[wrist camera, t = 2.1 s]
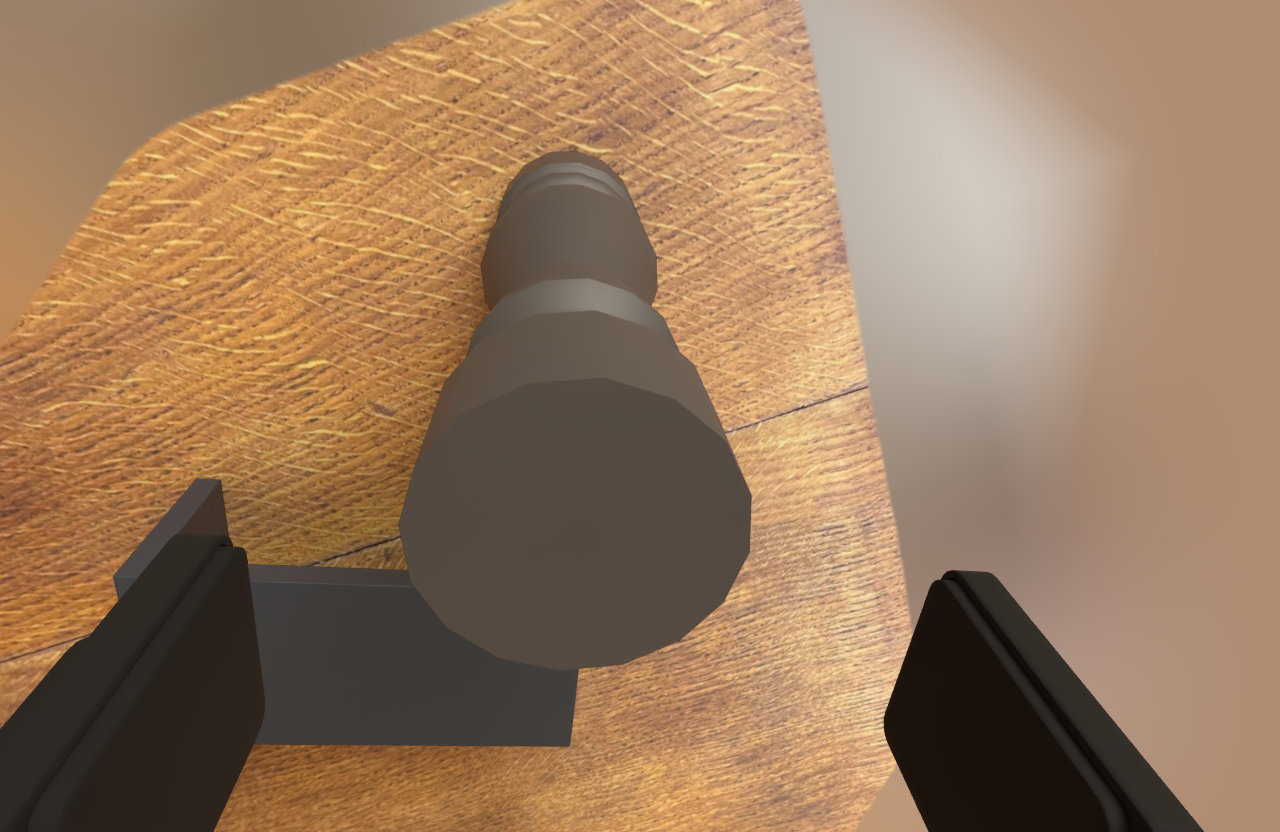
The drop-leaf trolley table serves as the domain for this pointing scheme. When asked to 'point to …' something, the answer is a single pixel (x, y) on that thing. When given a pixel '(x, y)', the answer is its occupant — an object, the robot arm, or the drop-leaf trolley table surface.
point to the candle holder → (573, 446)
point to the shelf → (371, 656)
